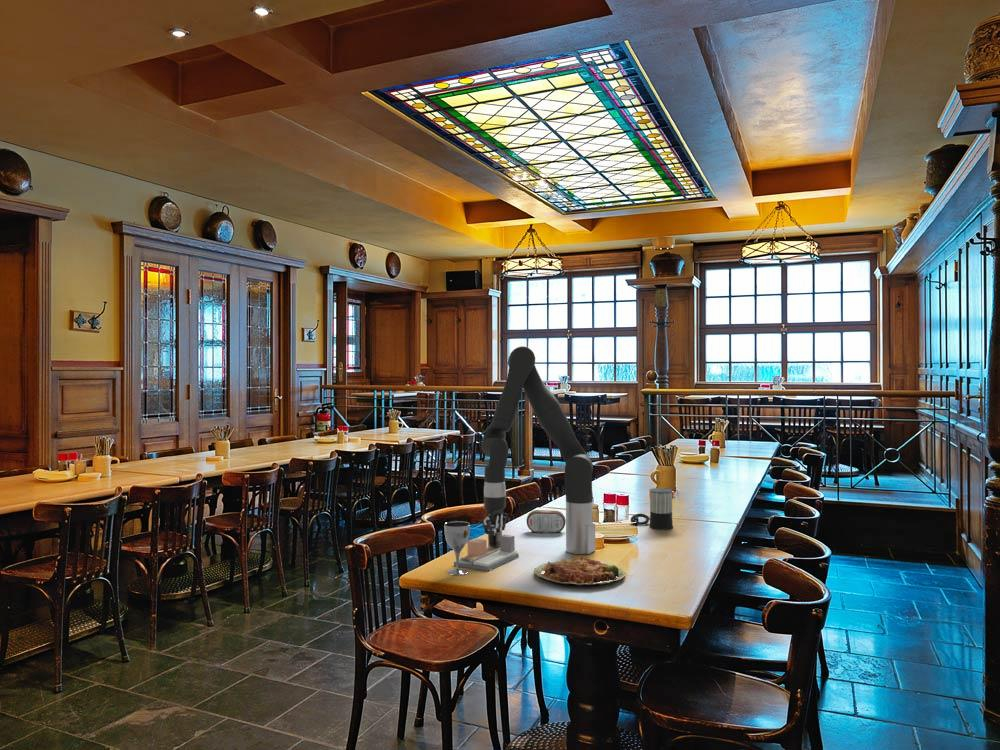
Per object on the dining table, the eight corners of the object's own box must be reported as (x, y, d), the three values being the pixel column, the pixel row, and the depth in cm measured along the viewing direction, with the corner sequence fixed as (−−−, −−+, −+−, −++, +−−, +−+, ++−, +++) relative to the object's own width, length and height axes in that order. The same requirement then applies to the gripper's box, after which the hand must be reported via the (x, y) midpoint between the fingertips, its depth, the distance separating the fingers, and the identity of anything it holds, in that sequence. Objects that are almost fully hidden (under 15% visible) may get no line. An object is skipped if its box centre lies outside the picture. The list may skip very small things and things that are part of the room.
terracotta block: (486, 553, 229) (486, 539, 229) (479, 556, 225) (478, 542, 225) (475, 551, 231) (475, 538, 231) (467, 554, 228) (467, 541, 227)
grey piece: (503, 549, 237) (503, 532, 237) (474, 561, 222) (474, 543, 222) (490, 547, 240) (490, 530, 240) (460, 559, 225) (460, 541, 225)
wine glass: (446, 568, 219) (445, 521, 219) (471, 568, 219) (470, 521, 219) (443, 575, 211) (442, 526, 211) (469, 576, 211) (468, 526, 211)
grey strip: (516, 553, 232) (516, 536, 232) (487, 566, 216) (487, 548, 216) (502, 551, 235) (502, 534, 235) (472, 564, 219) (472, 545, 219)
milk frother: (675, 529, 270) (675, 491, 270) (634, 529, 270) (634, 491, 270) (667, 521, 284) (667, 485, 284) (629, 522, 284) (628, 485, 284)
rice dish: (558, 563, 230) (557, 546, 230) (638, 571, 216) (638, 553, 216) (517, 586, 205) (516, 567, 206) (605, 596, 191) (604, 577, 192)
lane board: (518, 557, 232) (518, 550, 232) (488, 571, 216) (488, 564, 216) (485, 552, 239) (485, 545, 239) (453, 565, 223) (453, 558, 223)
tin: (565, 531, 268) (565, 510, 268) (565, 533, 265) (565, 511, 265) (526, 531, 269) (526, 509, 269) (526, 533, 266) (526, 511, 266)
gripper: (493, 498, 230) (493, 551, 230) (514, 492, 242) (514, 542, 242) (474, 496, 234) (474, 548, 234) (496, 490, 246) (496, 539, 246)
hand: (495, 544), depth 238 cm, fingers closed on grey piece, 2 cm apart
